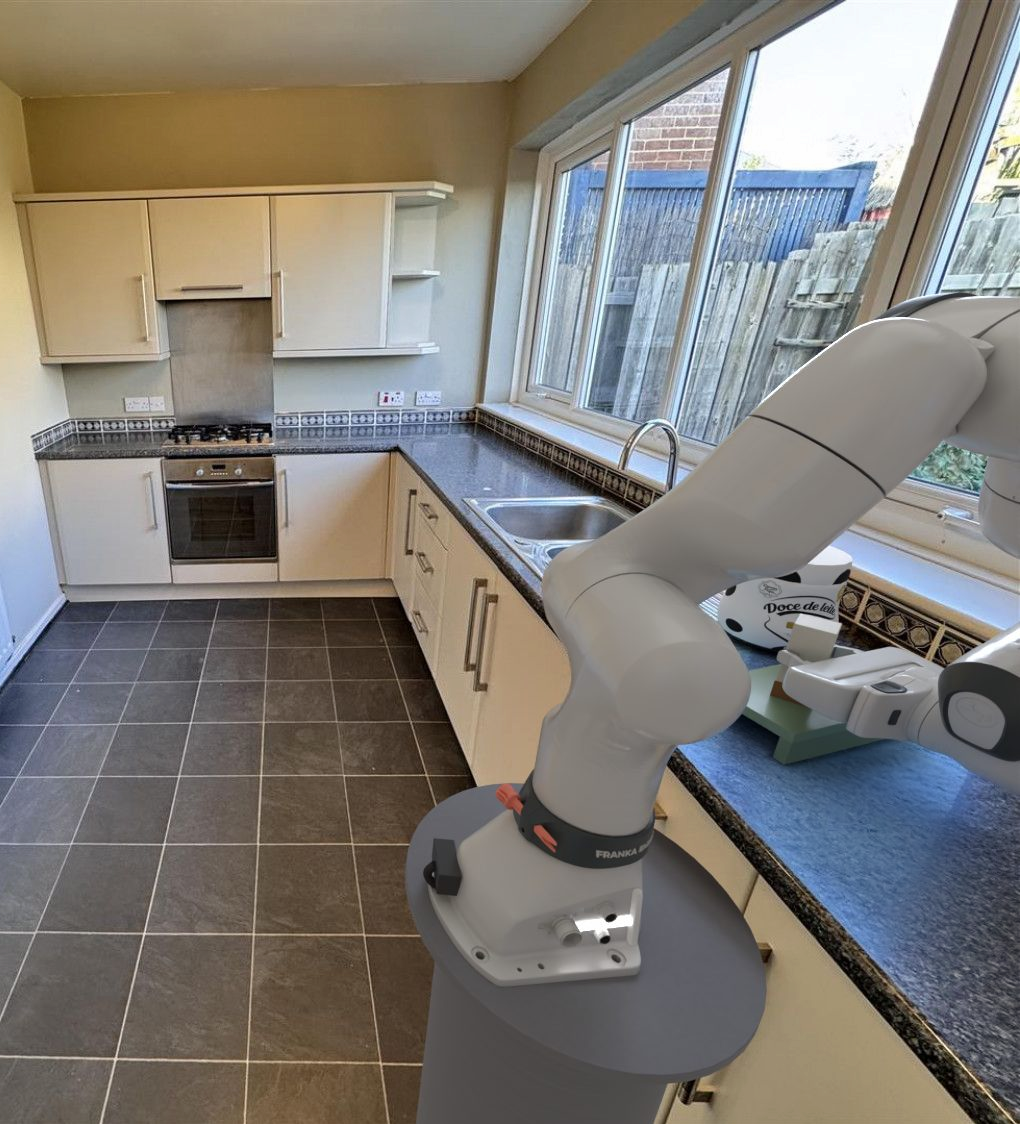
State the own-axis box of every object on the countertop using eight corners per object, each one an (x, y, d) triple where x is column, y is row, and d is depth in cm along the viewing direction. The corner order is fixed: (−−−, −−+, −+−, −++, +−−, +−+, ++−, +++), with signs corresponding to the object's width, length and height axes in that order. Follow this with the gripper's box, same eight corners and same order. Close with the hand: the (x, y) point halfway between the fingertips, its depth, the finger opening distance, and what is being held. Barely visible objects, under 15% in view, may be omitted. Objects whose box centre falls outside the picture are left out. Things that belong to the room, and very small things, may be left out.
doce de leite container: (792, 672, 105) (826, 575, 98) (691, 629, 120) (715, 542, 113) (849, 650, 111) (884, 557, 105) (747, 612, 126) (772, 528, 119)
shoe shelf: (784, 764, 83) (795, 734, 82) (693, 707, 96) (700, 679, 94) (910, 733, 89) (922, 704, 87) (808, 682, 102) (818, 656, 100)
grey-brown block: (811, 708, 87) (838, 635, 82) (769, 695, 90) (793, 623, 86) (823, 681, 93) (848, 611, 89) (783, 669, 96) (806, 601, 92)
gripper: (985, 668, 77) (861, 620, 90) (866, 696, 72) (752, 641, 85) (965, 710, 79) (847, 658, 92) (849, 740, 75) (740, 680, 87)
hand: (801, 650), depth 88 cm, fingers closed on grey-brown block, 6 cm apart
